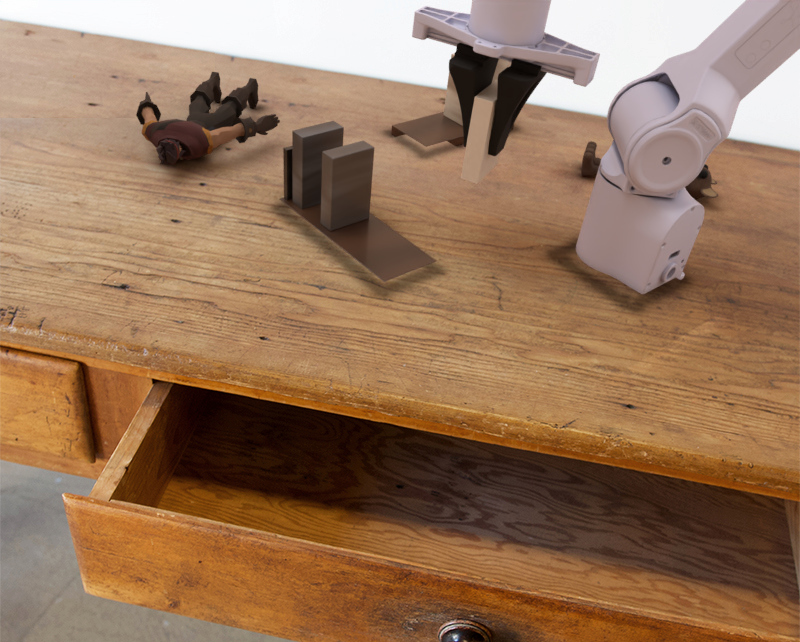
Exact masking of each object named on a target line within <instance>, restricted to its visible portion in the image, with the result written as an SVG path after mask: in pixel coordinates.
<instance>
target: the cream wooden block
mask: <svg viewBox="0 0 800 642" xmlns="http://www.w3.org/2000/svg"><path fill="white" fill-rule="evenodd" d="M497 87H498V80H495V81H494V82H493V83H492V84H490V85H489V86H488V87H487V88H485V89H484V90H483V91H481V92H480V93H479V94H478V95H476V96H475V98H474V104H473V110H472V116H471V121H470V127H469V133H468V138H467V144H466V147H465V151H464V156H463V161H462V168H461V175H460V179H461V180H463V181H466V182H468V183H472V184H475V185H479V184H480V183H481V182H482V181H483V180H484V179H485V178H486V177H487V176H488V175H489V174H490V173H491V172H492V171H493V170H494V169H495V168H496V167H497V166H498V164H499V159H500V154H501V152H500V153H499V154H498V155H497V156H492V155H489V154H488V147H489V140H490V136H491V132H492V128H493V124H494V119H495V112H496V103H497Z"/></svg>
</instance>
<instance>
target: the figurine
mask: <svg viewBox="0 0 800 642" xmlns="http://www.w3.org/2000/svg"><path fill="white" fill-rule="evenodd" d="M222 95H223V92H222V88H221V77H220V72H219V71H218V72H217V71H211V73H210V76H209V78H208V79H207V80H205V81H202V82H201V83H200V84H199V85H198V86H197V87H196V88H195V90H194V91H193V93H191V94H190V96H189V100H190V104H188V116H187V117H186V120H184V119H180V118H179V119H178V118H172V119H164V120H161V116H162V112H161V110H160V109H159V107H158V105H157V104H156V103H154V101H152V99H151V96H150V94H149V92H148V91H145V97H144V99H143V100H141V101H140V102H139V105H138V106H137V111H136V114H135V116H136V118H137V120H138V121H139V123H140V125H142V129H141V134H142V136H143V137H144V138H145V140H147V141H148V142H149V143H151V145H153V146H154V147H155V149H156V152H157V158H158V160H159V161H160V163H159V165H163V166H167V165H169V166H170V165H172V166H173V165H176V163H177V162H178V160H179V159H180V161H183V160H186V161H190V160H195V159H200V158H201V157H204V156H206V155H211V154H212V153H213V150H214V149H216V148H218V147H219V146H220V145H224V144H227V143H229V142H232V141H233V140H236V141H237V142H238V143H239V144H244V143H246V142H247V140H248V139H249V138H252V137H256V135H257V134H258V135H261V136H267V135H269V131H272V130H274V129H275V128H277V127H278V125H279V123H280V122H281V120H280V119H279V116H277V114H276V113H272V114H266V115H265V114H264V115H261V116H260V117H258V118H257V119H256V121H255V120H254V119H253V118H252V117H251V116H249V117H245V118H243V117H241V116H242V115H243V112H244V110H245V109H246V108H247V107H248V106H249V108H250V109H256V108H257V105H258V103H259V101H260V100H259V84H258V80H257V78H253V77H249V78H248V82H247V83H246V85H244V86H241V87H236V88H235V89H233V90H231V91H230V93H229V94H228V95H226V96H225V97H224V98H223V99H222ZM221 99H222V100H221ZM214 102H216V103H220V104H221V105H220V106H219V107H218V108H217V109H216V110H215V111H214V112H210V110H211V109H212V108H211V107H212V106H211V105H212V103H214ZM247 103H248V104H247Z"/></svg>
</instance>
